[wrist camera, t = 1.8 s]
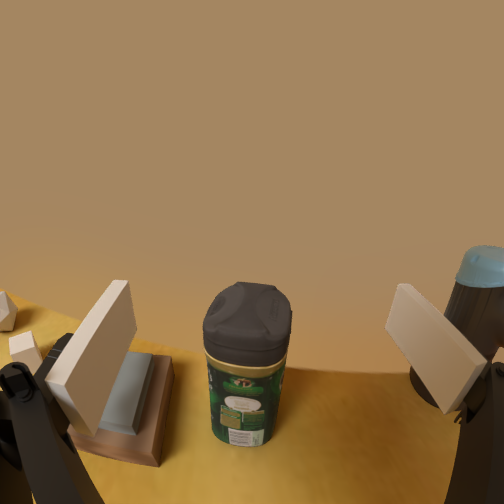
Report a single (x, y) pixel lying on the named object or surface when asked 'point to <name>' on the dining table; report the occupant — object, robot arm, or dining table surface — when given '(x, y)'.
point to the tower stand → (133, 412)
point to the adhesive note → (25, 350)
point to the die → (7, 312)
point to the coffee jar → (246, 361)
